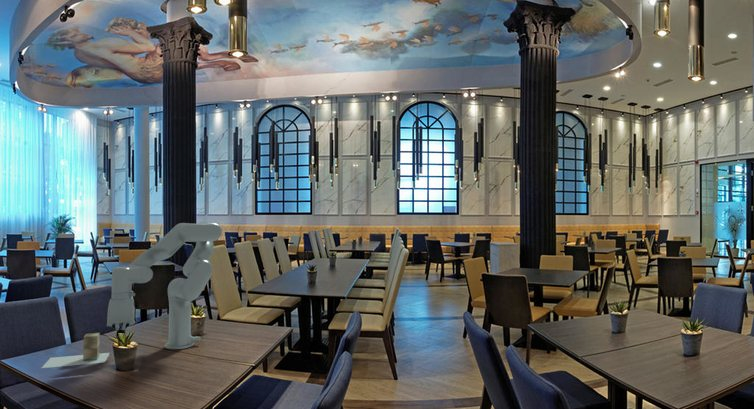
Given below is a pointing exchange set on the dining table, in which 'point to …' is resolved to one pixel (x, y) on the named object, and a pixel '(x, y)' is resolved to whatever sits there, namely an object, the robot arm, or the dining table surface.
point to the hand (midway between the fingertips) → (120, 339)
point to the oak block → (91, 347)
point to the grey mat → (73, 360)
